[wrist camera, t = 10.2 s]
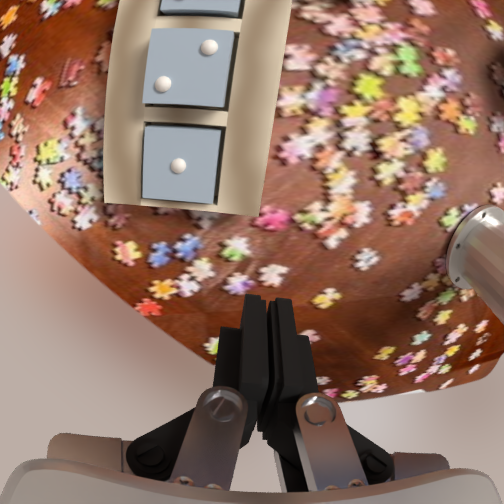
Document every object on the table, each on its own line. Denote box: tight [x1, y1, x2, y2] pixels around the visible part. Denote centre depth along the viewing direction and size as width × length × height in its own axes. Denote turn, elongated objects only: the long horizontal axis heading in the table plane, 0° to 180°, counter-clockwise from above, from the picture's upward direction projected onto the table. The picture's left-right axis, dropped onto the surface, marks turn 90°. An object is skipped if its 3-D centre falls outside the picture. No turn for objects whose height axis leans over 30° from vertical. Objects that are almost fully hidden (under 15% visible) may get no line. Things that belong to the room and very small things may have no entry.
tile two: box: [142, 28, 234, 107], centre depth 19 cm, size 6×6×3 cm
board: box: [103, 0, 292, 217], centre depth 21 cm, size 14×24×4 cm, turn 172°
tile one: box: [143, 124, 222, 204], centre depth 24 cm, size 6×6×3 cm
